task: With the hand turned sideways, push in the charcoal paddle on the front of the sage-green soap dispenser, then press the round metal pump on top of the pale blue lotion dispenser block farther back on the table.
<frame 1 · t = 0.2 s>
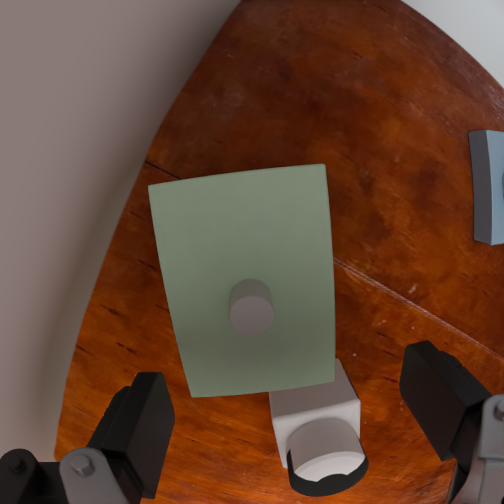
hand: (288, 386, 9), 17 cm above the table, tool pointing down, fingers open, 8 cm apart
soap dispenser: (235, 241, 25), on the table
medicine bottle: (306, 390, 29), on the table
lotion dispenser: (501, 185, 24), on the table
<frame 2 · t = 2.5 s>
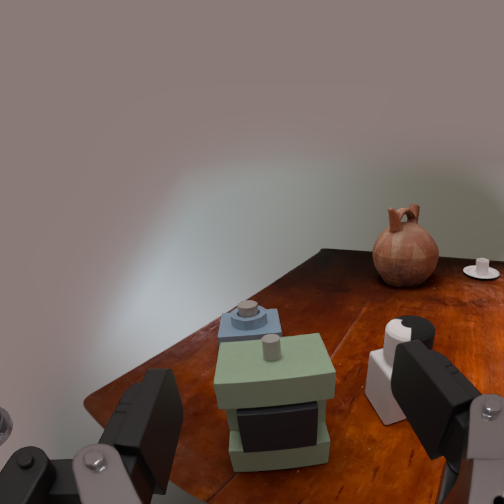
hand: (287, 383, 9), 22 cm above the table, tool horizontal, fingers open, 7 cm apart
soap dispenser: (279, 453, 29), on the table
medicine bottle: (397, 403, 33), on the table
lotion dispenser: (250, 336, 57), on the table
lotion pump: (248, 309, 56), point 6 cm above the table, slide at 0.1 cm
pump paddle: (278, 429, 25), point 7 cm above the table, slide at -0.1 cm
candle holder: (481, 274, 70), on the table
jug: (404, 281, 75), on the table
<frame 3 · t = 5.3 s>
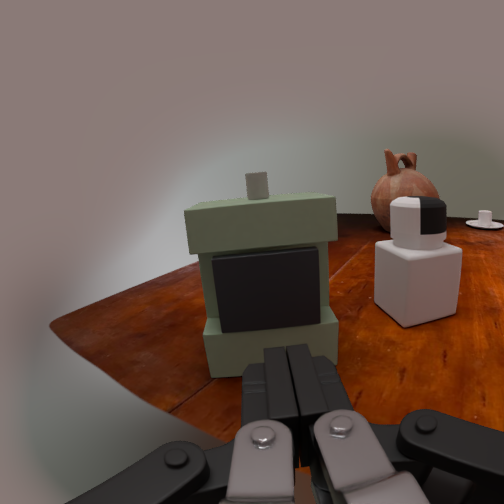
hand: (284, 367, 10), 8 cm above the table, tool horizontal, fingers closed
soap dispenser: (272, 356, 25), on the table
medicine bottle: (414, 310, 30), on the table
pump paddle: (268, 291, 21), point 7 cm above the table, slide at -0.1 cm
candle holder: (484, 227, 66), on the table
jug: (405, 230, 72), on the table
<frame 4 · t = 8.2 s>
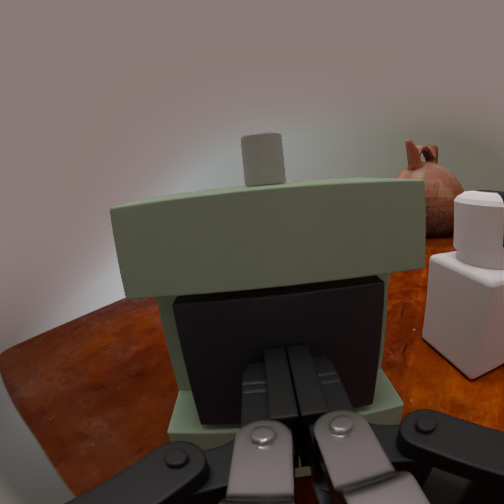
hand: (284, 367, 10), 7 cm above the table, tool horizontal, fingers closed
soap dispenser: (286, 444, 14), on the table
medicine bottle: (474, 348, 19), on the table
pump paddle: (284, 358, 11), point 7 cm above the table, slide at 0.7 cm, touching gripper
jug: (427, 232, 61), on the table
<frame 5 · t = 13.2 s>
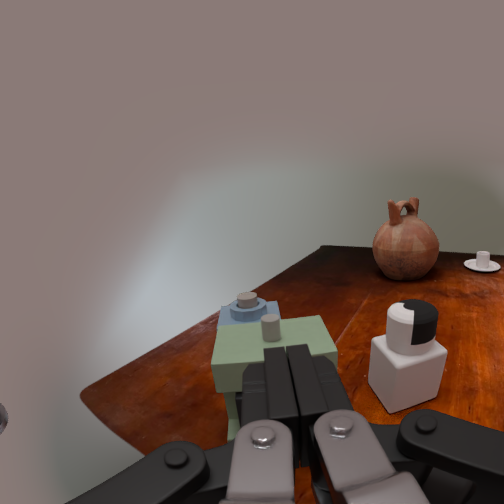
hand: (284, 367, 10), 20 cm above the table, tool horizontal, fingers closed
soap dispenser: (280, 443, 28), on the table
medicine bottle: (401, 391, 33), on the table
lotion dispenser: (250, 328, 56), on the table
lotion pump: (247, 300, 55), point 6 cm above the table, slide at 0.1 cm
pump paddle: (279, 414, 24), point 7 cm above the table, slide at -0.1 cm
candle holder: (482, 267, 69), on the table
jug: (405, 274, 75), on the table
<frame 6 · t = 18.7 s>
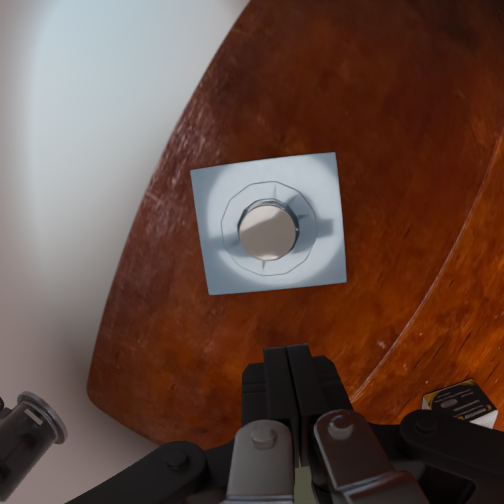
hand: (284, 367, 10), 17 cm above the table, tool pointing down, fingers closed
soap dispenser: (318, 457, 31), on the table
medicine bottle: (444, 406, 28), on the table
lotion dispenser: (271, 221, 26), on the table
lotion pump: (268, 231, 21), point 6 cm above the table, slide at 0.1 cm
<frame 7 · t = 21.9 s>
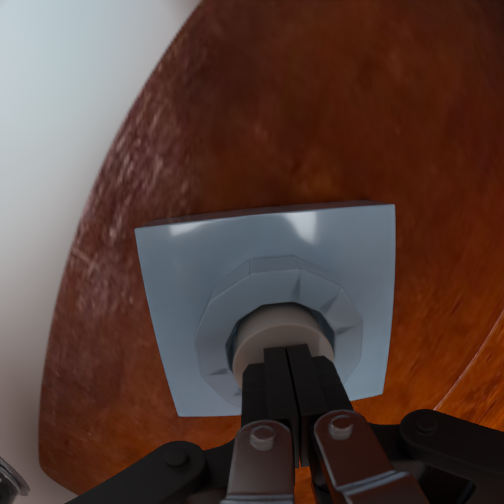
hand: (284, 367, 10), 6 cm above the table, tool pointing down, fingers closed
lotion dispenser: (271, 303, 16), on the table
lotion pump: (281, 353, 11), point 5 cm above the table, slide at -0.5 cm, touching gripper
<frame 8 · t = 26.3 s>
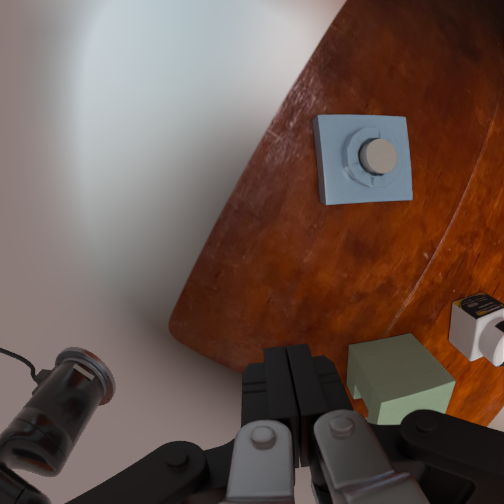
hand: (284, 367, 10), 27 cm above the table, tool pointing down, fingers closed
soap dispenser: (378, 364, 41), on the table
medicine bottle: (465, 315, 40), on the table
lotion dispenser: (360, 159, 35), on the table
lotion pump: (378, 156, 29), point 6 cm above the table, slide at 0.1 cm
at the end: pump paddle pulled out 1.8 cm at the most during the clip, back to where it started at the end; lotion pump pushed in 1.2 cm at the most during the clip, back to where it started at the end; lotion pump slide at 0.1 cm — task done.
